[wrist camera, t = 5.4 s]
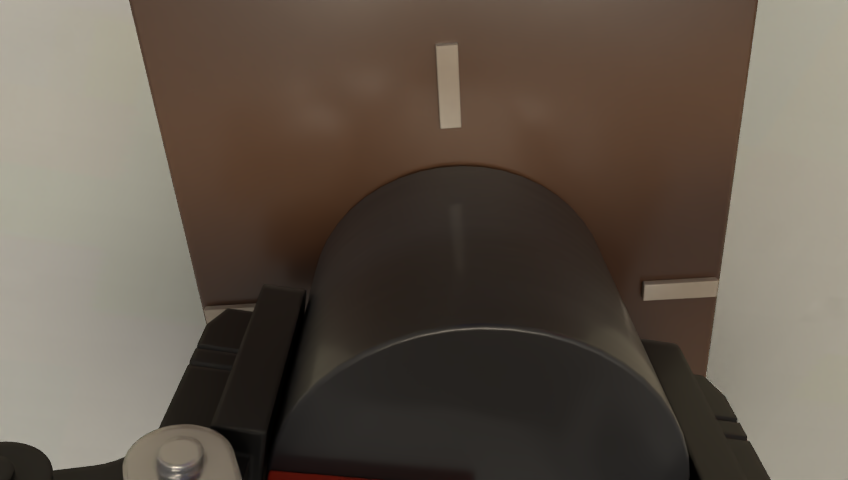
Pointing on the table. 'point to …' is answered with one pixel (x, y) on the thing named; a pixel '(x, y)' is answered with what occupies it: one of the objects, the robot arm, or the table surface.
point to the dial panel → (454, 128)
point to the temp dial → (470, 346)
